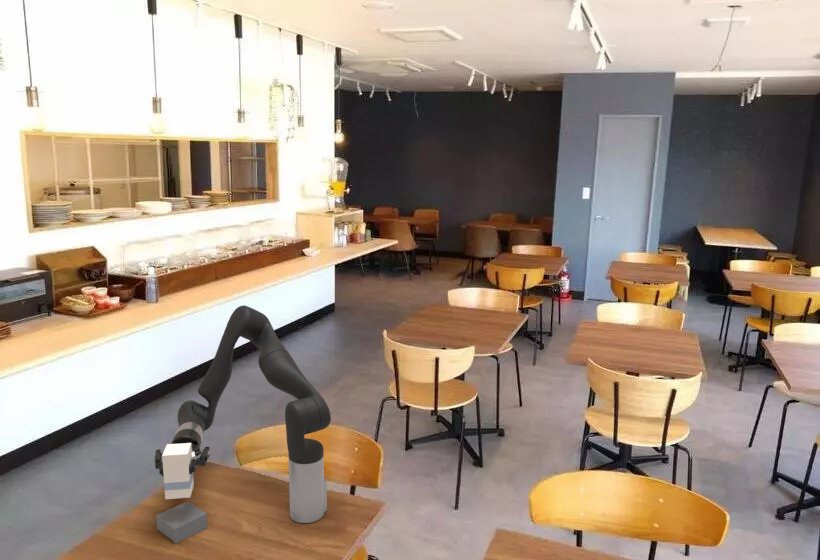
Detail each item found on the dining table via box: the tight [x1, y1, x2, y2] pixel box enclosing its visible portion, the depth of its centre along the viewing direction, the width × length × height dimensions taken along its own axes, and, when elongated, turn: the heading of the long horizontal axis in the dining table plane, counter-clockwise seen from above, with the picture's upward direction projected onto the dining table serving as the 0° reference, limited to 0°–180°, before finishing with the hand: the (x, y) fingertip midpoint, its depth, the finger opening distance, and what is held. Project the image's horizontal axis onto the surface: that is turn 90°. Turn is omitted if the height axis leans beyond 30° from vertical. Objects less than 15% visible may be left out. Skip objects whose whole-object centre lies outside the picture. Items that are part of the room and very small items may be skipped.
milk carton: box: [162, 443, 195, 500], centre depth 161 cm, size 6×6×12 cm
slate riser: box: [155, 500, 208, 544], centre depth 165 cm, size 9×9×4 cm
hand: (176, 471), depth 159 cm, fingers closed on milk carton, 6 cm apart
